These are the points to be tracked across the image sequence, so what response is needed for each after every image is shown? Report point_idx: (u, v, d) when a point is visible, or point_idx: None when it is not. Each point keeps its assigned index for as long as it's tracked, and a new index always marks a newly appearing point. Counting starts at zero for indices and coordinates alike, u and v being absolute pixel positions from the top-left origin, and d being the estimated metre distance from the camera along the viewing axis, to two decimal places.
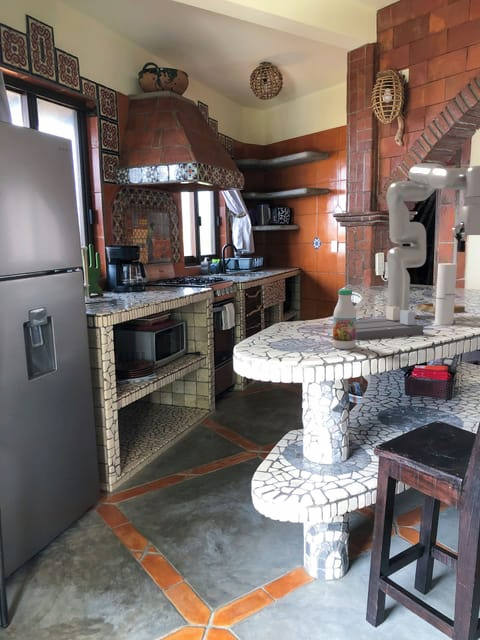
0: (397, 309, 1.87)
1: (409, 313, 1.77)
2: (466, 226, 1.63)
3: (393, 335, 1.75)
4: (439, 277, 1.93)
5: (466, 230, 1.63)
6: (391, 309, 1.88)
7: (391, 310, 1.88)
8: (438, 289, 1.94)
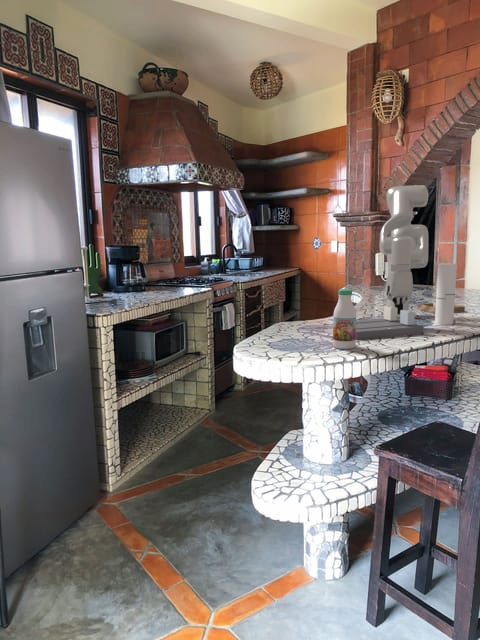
0: (395, 309, 1.87)
1: (409, 313, 1.77)
2: (391, 290, 1.85)
3: (393, 335, 1.75)
4: (439, 277, 1.93)
5: (391, 293, 1.86)
6: (389, 309, 1.87)
7: (389, 310, 1.87)
8: (438, 289, 1.94)
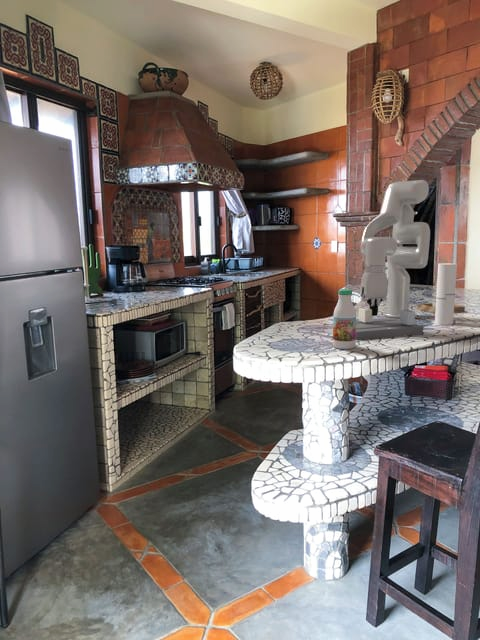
0: (369, 311, 1.84)
1: (409, 313, 1.77)
2: (365, 291, 1.83)
3: (393, 335, 1.75)
4: (439, 277, 1.93)
5: (366, 294, 1.83)
6: (363, 311, 1.85)
7: (363, 312, 1.85)
8: (438, 289, 1.94)
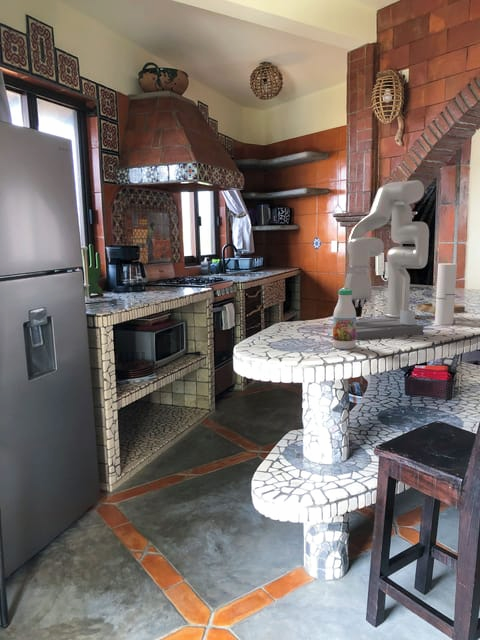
0: None
1: (409, 313, 1.77)
2: None
3: (393, 335, 1.75)
4: (439, 277, 1.93)
5: None
6: None
7: None
8: (438, 289, 1.94)
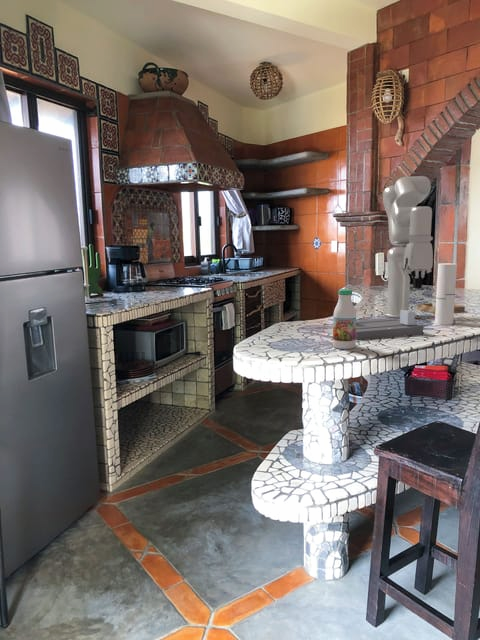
0: None
1: (409, 313, 1.77)
2: (410, 262, 1.75)
3: (393, 335, 1.75)
4: (439, 277, 1.93)
5: (410, 266, 1.76)
6: None
7: None
8: (438, 289, 1.94)
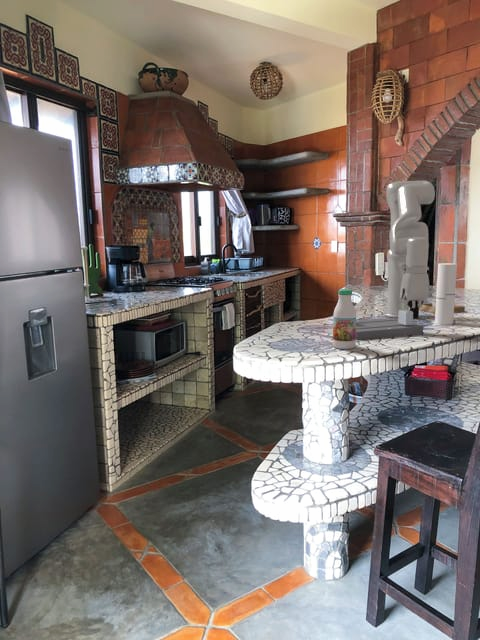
0: None
1: (407, 313, 1.77)
2: (407, 293, 1.76)
3: (393, 335, 1.75)
4: (439, 277, 1.93)
5: (407, 296, 1.76)
6: None
7: None
8: (438, 289, 1.94)
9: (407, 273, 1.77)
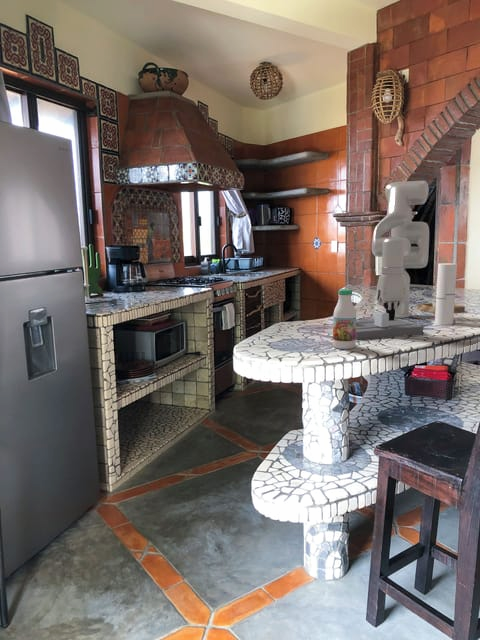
0: None
1: (383, 315, 1.74)
2: (382, 294, 1.73)
3: (393, 335, 1.75)
4: (439, 277, 1.93)
5: (382, 298, 1.74)
6: None
7: None
8: (438, 289, 1.94)
9: (383, 274, 1.74)
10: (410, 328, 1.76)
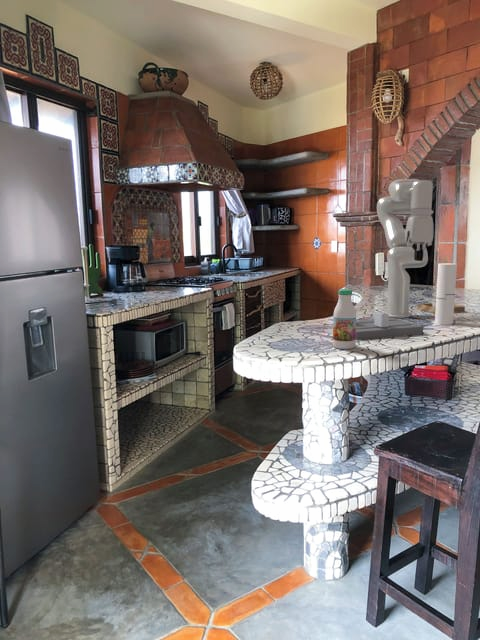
0: None
1: (383, 315, 1.74)
2: (411, 235, 1.81)
3: (393, 335, 1.75)
4: (439, 277, 1.93)
5: (412, 238, 1.81)
6: None
7: None
8: (438, 289, 1.94)
9: (412, 216, 1.81)
10: (410, 328, 1.76)
